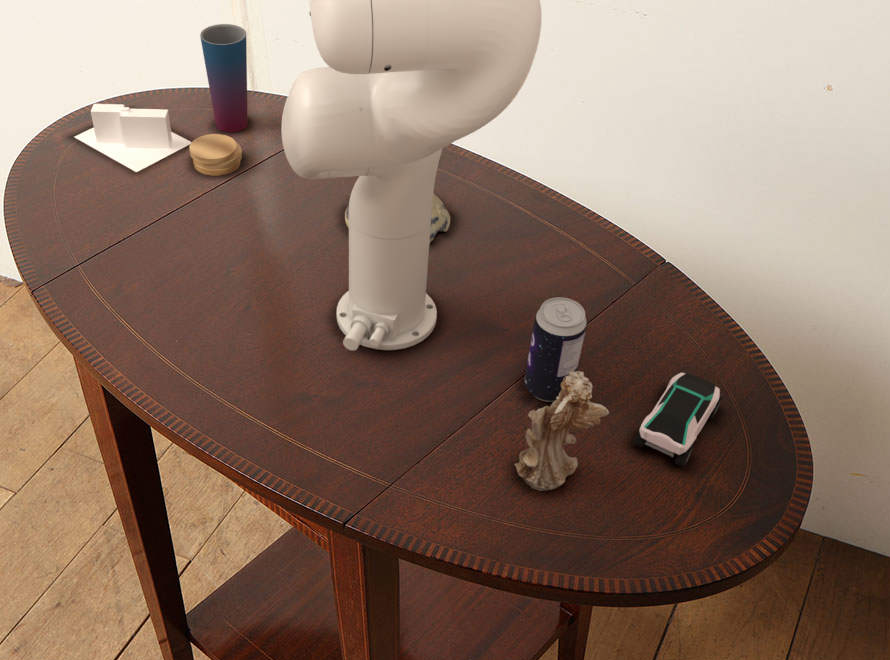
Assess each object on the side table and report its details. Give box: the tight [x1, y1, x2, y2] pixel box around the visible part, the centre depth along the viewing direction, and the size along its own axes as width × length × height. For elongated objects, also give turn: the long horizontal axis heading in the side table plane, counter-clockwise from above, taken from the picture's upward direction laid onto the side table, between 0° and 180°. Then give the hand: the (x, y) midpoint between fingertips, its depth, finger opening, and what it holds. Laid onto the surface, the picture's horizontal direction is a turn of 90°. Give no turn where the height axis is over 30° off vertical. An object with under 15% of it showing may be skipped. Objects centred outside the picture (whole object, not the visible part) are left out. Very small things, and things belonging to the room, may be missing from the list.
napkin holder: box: [74, 103, 192, 173], centre depth 151 cm, size 15×11×6 cm
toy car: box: [633, 372, 723, 468], centre depth 110 cm, size 6×12×5 cm, turn 146°
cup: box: [199, 23, 249, 134], centre depth 152 cm, size 7×7×15 cm
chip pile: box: [188, 133, 243, 177], centre depth 148 cm, size 8×8×3 cm
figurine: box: [513, 370, 610, 492], centre depth 101 cm, size 7×6×15 cm
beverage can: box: [523, 296, 588, 403], centre depth 112 cm, size 6×6×12 cm
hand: (356, 71), depth 126 cm, fingers closed
